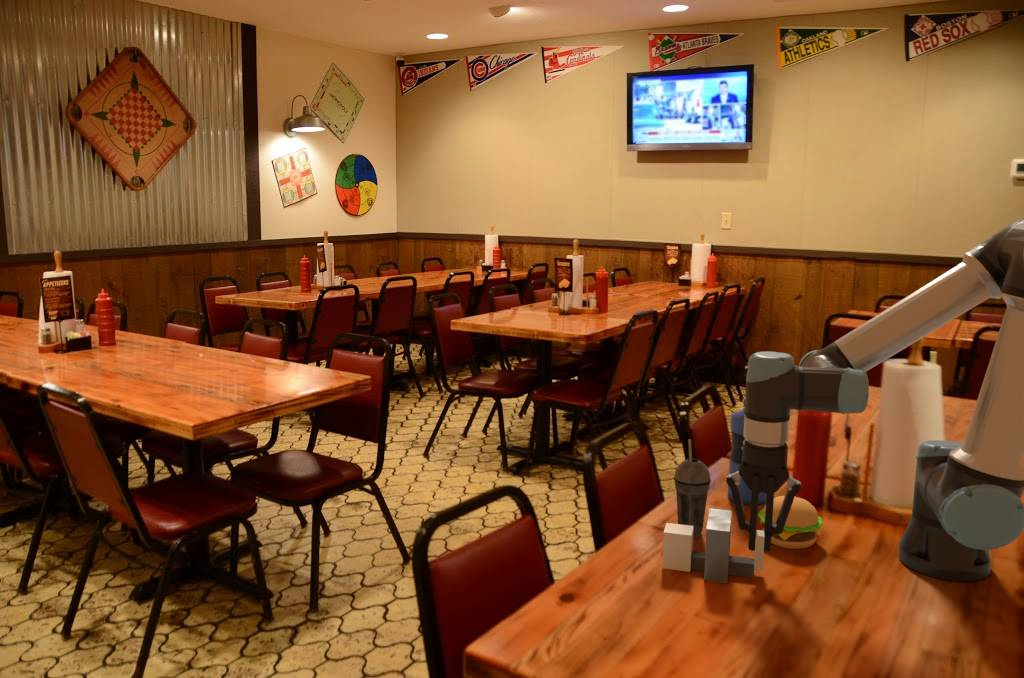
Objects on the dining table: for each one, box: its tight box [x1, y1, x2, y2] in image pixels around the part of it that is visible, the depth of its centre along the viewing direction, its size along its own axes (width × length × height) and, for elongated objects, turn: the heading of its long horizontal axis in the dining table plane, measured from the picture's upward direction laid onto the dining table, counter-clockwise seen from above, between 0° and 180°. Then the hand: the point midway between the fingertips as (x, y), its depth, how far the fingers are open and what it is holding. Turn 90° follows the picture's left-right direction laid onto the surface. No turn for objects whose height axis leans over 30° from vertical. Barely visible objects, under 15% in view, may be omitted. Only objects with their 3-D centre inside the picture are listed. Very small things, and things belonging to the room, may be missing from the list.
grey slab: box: [703, 507, 733, 585], centre depth 146 cm, size 4×10×10 cm, turn 163°
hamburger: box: [758, 495, 823, 550], centre depth 160 cm, size 12×12×9 cm
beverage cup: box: [673, 438, 712, 539], centre depth 161 cm, size 7×7×20 cm
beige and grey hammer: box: [661, 522, 755, 578], centre depth 147 cm, size 16×4×7 cm, turn 73°
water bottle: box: [727, 393, 766, 506], centre depth 180 cm, size 9×9×25 cm
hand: (758, 567), depth 145 cm, fingers closed
